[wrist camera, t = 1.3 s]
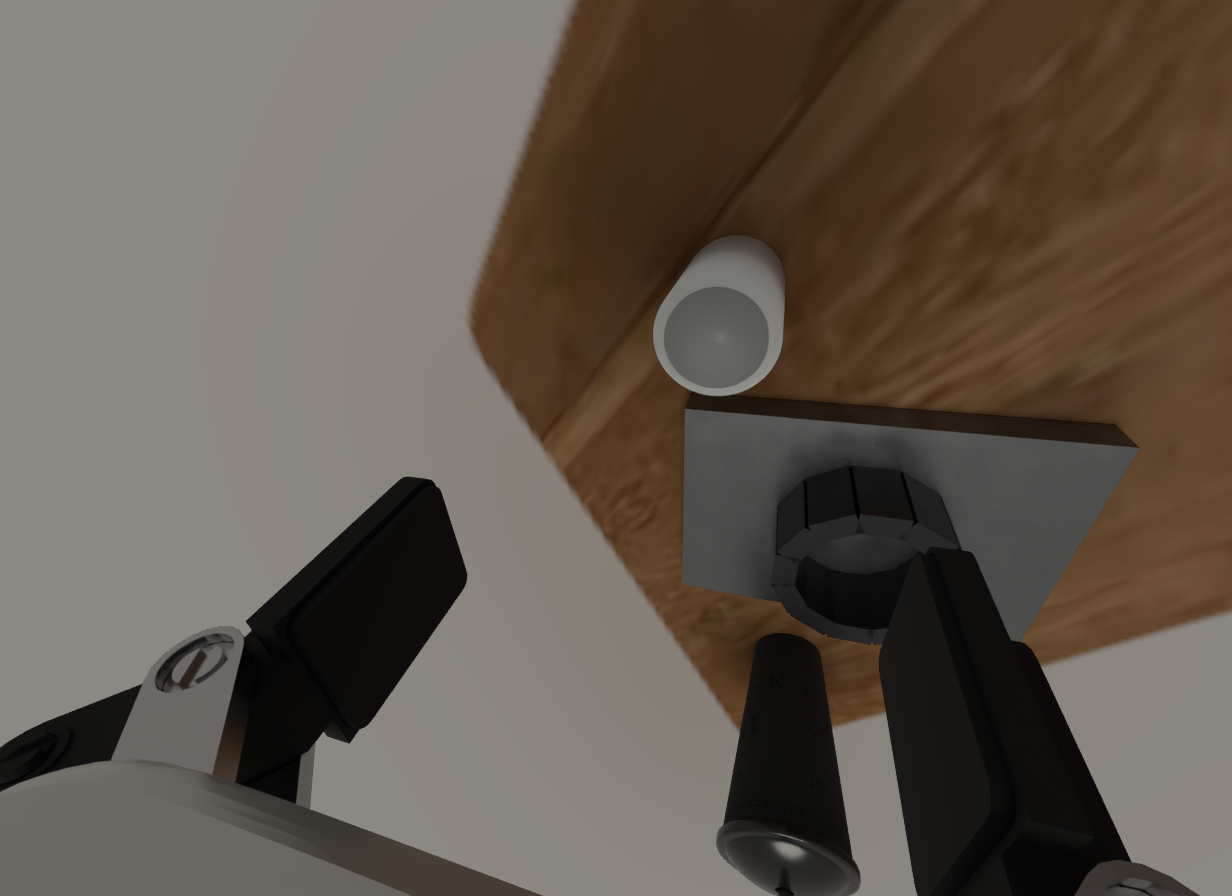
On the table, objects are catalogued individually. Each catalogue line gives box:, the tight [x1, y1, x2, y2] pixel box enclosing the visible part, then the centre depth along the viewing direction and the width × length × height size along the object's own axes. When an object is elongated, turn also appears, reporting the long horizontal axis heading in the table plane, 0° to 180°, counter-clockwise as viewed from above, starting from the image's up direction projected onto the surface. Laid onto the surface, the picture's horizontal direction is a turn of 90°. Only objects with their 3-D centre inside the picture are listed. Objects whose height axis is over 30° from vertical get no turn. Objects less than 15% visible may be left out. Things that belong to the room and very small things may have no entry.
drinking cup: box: [716, 634, 861, 896], centre depth 31 cm, size 8×8×20 cm
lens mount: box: [682, 393, 1139, 645], centre depth 27 cm, size 14×20×6 cm
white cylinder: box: [653, 235, 786, 396], centre depth 22 cm, size 5×5×7 cm
